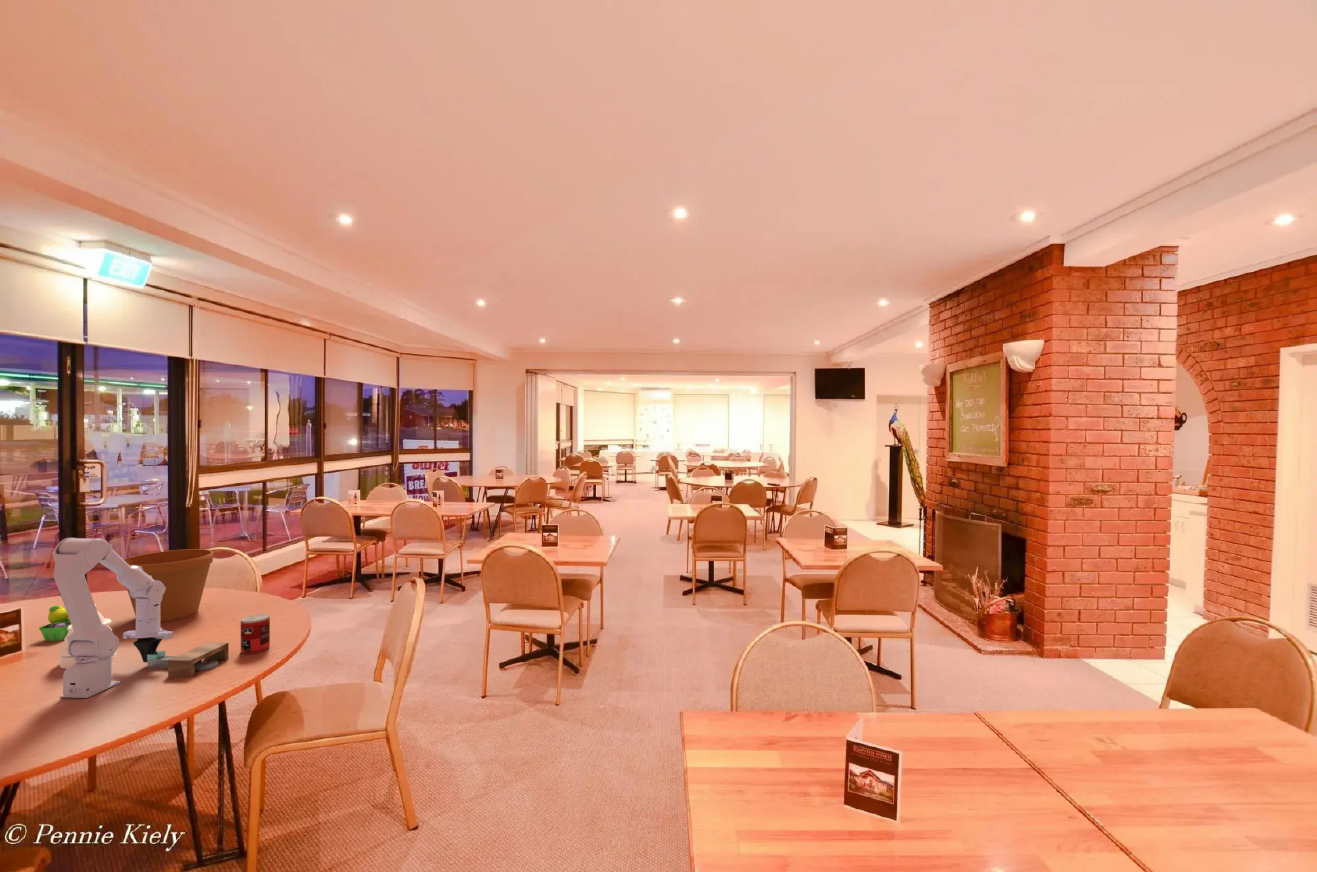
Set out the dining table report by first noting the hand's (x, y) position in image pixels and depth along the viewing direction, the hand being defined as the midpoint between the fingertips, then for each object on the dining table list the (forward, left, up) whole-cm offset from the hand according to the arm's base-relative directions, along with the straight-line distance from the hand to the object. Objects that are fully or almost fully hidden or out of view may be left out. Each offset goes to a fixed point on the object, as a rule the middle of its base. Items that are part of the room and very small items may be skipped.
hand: (148, 661), depth 175 cm
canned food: (+14, -24, -2) cm, 28 cm away
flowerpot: (+46, +38, -2) cm, 60 cm away
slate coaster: (0, -19, -2) cm, 19 cm away
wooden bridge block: (0, -17, -1) cm, 17 cm away
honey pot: (+3, +23, -2) cm, 23 cm away
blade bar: (0, -9, -1) cm, 9 cm away
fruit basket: (+22, +54, -2) cm, 58 cm away
